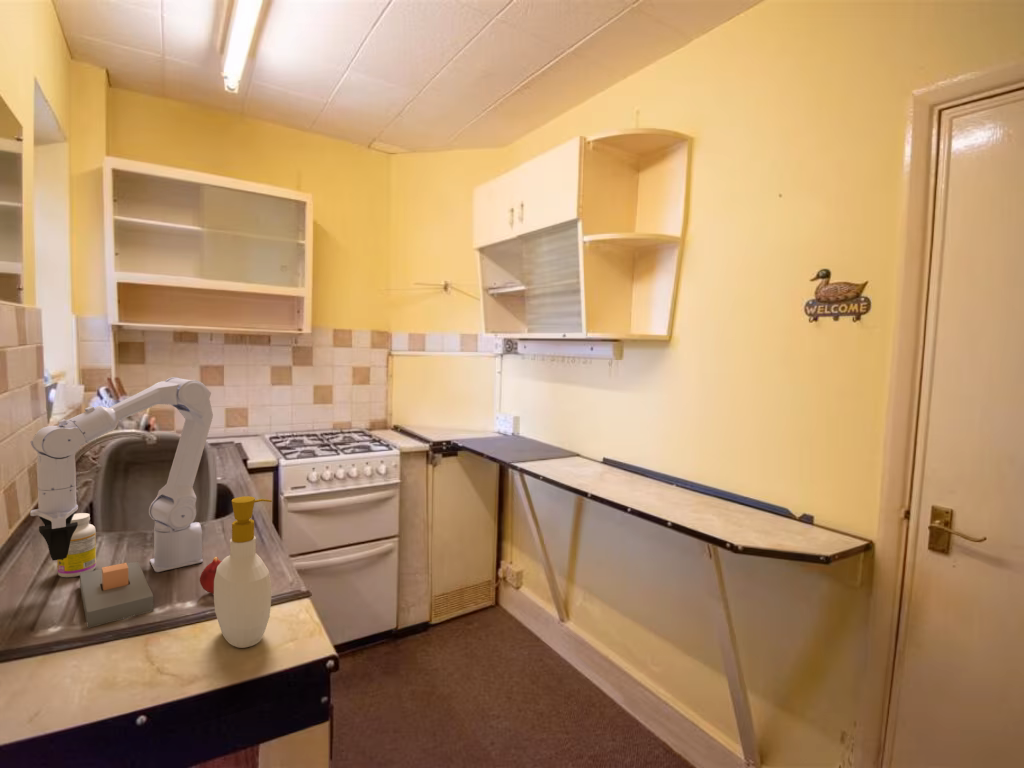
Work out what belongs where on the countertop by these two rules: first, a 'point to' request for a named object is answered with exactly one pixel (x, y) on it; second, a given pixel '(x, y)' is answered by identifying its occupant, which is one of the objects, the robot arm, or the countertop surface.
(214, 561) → the onion
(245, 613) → the soap bottle
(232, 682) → the countertop surface
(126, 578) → the plug
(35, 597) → the countertop surface
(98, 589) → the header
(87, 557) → the supplement bottle
